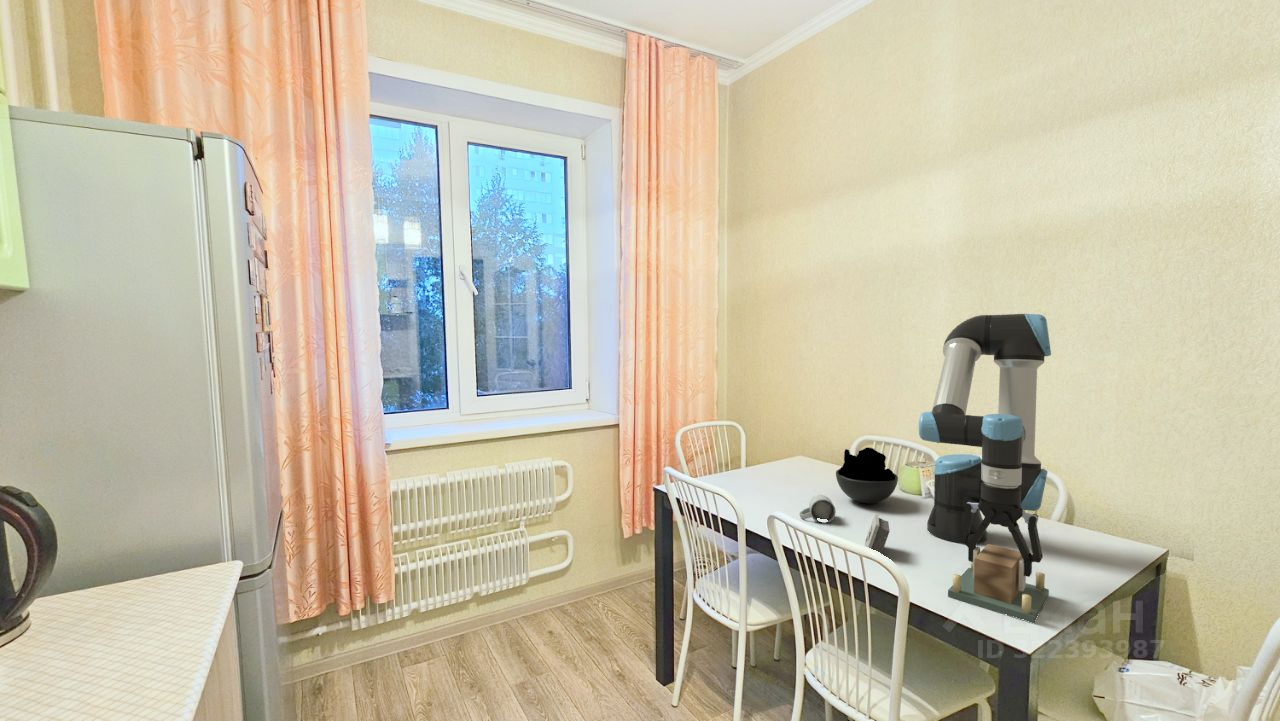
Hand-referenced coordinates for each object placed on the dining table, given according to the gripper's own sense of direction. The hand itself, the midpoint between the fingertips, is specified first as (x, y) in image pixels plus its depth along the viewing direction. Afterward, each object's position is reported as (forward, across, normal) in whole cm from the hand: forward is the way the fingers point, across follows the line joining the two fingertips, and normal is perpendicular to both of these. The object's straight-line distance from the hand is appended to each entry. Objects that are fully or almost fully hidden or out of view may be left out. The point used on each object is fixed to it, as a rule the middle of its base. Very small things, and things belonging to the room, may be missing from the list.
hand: (998, 582), depth 121 cm
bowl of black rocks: (+3, -49, +44) cm, 66 cm away
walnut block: (+2, 0, 0) cm, 2 cm away
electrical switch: (+4, -30, +6) cm, 31 cm away
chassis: (+3, 0, 0) cm, 3 cm away
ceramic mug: (+4, -53, +17) cm, 56 cm away
